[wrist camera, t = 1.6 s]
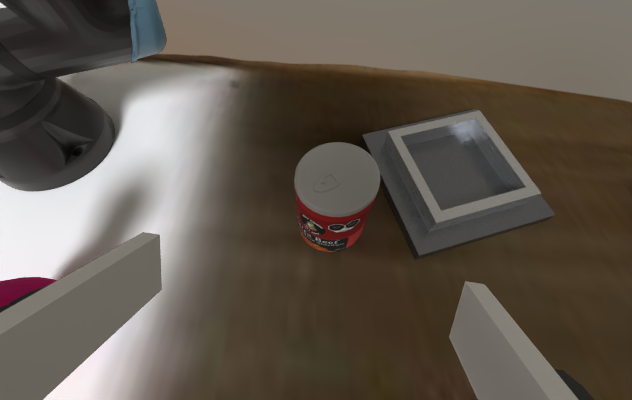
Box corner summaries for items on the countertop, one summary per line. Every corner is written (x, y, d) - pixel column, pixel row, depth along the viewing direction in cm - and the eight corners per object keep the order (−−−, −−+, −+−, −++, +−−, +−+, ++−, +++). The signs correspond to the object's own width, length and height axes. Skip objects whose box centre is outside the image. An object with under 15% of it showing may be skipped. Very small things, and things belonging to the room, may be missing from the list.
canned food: (285, 229, 36) (276, 182, 26) (325, 185, 39) (329, 127, 29) (336, 268, 34) (347, 232, 24) (374, 218, 37) (397, 168, 27)
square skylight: (360, 141, 42) (364, 121, 39) (471, 116, 45) (485, 95, 41) (415, 259, 34) (426, 248, 31) (546, 220, 37) (571, 205, 33)
